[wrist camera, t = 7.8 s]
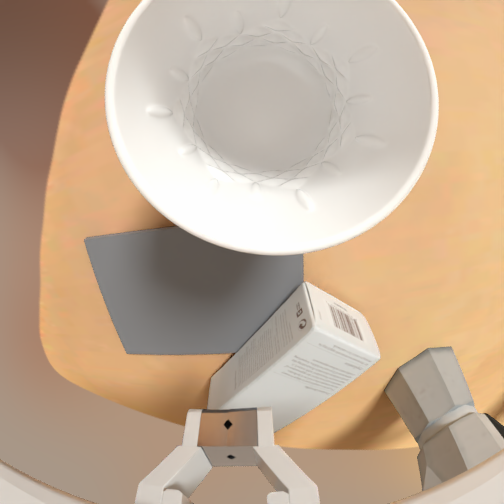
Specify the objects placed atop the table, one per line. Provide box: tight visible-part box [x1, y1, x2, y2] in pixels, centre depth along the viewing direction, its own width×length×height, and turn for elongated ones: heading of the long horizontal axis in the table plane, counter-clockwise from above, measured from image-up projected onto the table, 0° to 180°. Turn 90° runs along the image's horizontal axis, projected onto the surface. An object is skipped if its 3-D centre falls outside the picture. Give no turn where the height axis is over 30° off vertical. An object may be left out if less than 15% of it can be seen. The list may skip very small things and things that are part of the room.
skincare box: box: [207, 281, 380, 433], centre depth 19 cm, size 6×4×12 cm
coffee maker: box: [384, 347, 504, 491], centre depth 16 cm, size 15×9×18 cm, turn 83°
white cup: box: [105, 0, 439, 256], centre depth 10 cm, size 8×8×10 cm
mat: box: [84, 226, 304, 355], centre depth 19 cm, size 14×10×1 cm
